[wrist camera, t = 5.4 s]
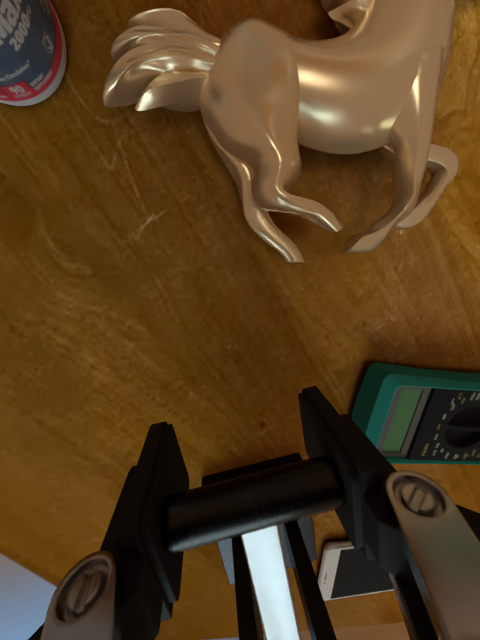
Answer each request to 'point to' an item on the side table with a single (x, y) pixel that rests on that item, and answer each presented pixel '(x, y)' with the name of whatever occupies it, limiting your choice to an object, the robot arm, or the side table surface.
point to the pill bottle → (30, 51)
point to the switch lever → (256, 526)
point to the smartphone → (349, 572)
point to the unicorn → (302, 102)
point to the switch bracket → (297, 555)
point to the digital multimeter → (420, 414)
